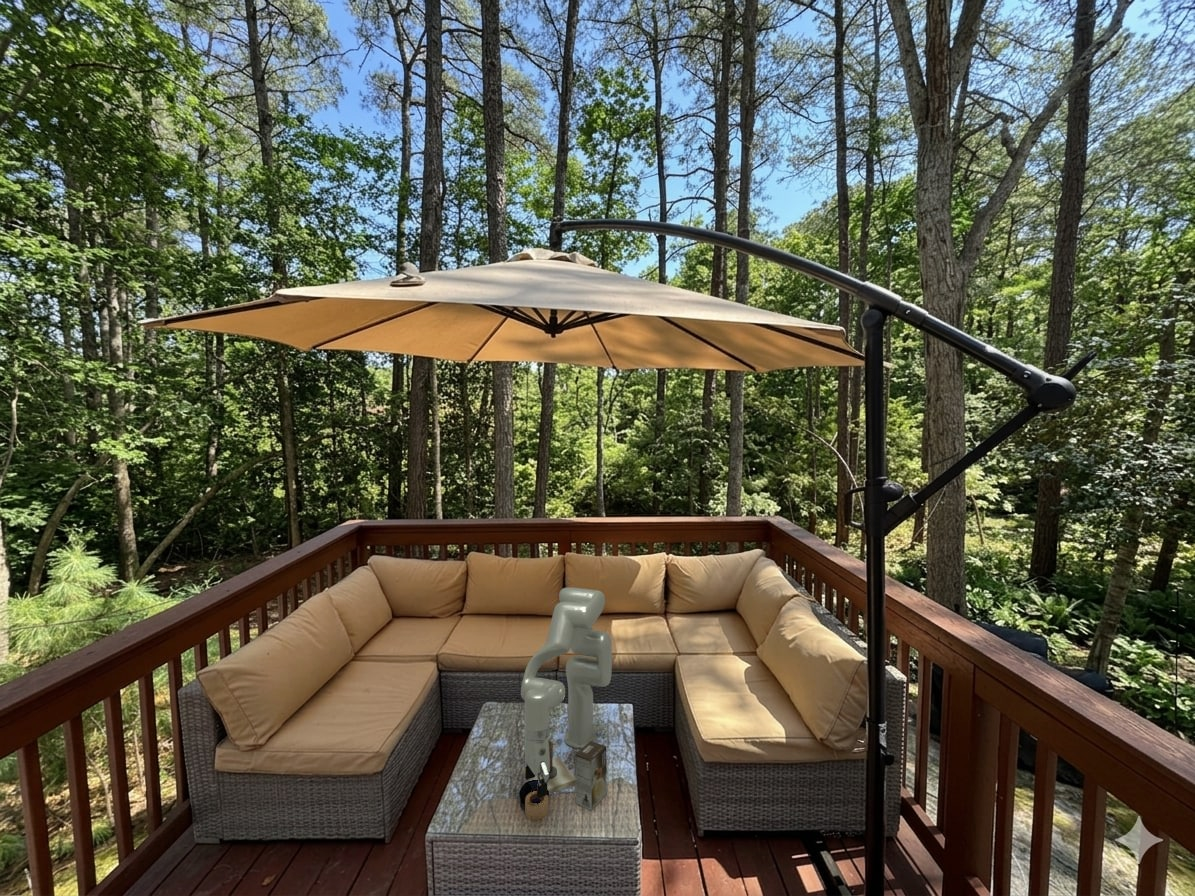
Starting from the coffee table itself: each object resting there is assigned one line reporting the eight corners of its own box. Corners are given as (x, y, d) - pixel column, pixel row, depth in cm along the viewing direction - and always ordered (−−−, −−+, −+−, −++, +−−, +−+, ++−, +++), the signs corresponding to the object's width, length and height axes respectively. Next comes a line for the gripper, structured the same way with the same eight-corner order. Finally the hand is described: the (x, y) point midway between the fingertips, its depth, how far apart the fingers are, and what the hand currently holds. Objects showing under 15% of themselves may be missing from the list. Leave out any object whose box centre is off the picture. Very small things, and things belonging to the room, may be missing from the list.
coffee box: (590, 787, 172) (590, 739, 172) (607, 794, 169) (607, 745, 168) (574, 803, 164) (575, 753, 164) (591, 811, 161) (592, 760, 161)
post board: (559, 762, 185) (559, 725, 185) (576, 785, 173) (576, 746, 173) (521, 774, 179) (521, 735, 178) (536, 799, 166) (537, 758, 166)
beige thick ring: (543, 800, 166) (543, 788, 166) (551, 814, 160) (551, 801, 160) (522, 807, 162) (522, 795, 162) (530, 822, 156) (530, 809, 156)
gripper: (559, 742, 154) (558, 799, 154) (537, 715, 170) (537, 768, 170) (535, 748, 151) (534, 807, 151) (515, 721, 166) (515, 774, 166)
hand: (536, 786), depth 160 cm, fingers open, 9 cm apart
